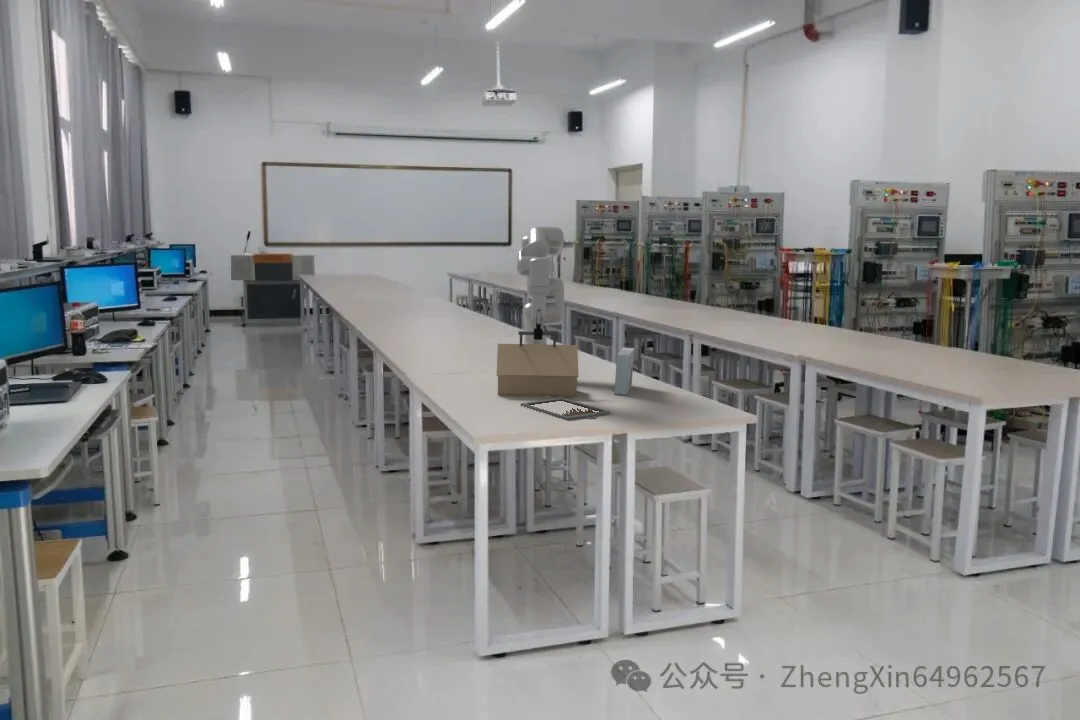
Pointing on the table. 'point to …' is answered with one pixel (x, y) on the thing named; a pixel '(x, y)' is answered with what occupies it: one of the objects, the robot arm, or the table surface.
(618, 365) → the skincare box
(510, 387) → the mailer box
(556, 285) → the robot arm
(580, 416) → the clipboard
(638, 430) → the table surface
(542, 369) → the lid
